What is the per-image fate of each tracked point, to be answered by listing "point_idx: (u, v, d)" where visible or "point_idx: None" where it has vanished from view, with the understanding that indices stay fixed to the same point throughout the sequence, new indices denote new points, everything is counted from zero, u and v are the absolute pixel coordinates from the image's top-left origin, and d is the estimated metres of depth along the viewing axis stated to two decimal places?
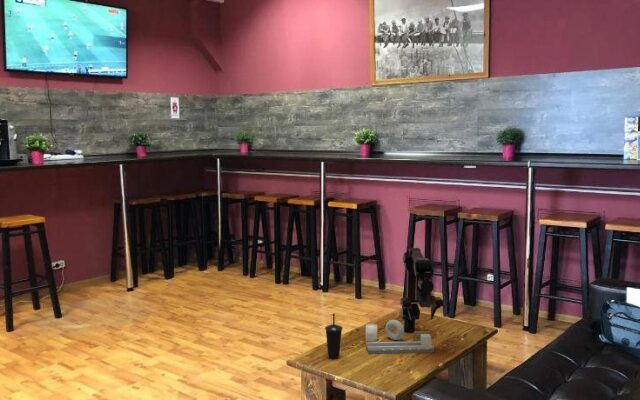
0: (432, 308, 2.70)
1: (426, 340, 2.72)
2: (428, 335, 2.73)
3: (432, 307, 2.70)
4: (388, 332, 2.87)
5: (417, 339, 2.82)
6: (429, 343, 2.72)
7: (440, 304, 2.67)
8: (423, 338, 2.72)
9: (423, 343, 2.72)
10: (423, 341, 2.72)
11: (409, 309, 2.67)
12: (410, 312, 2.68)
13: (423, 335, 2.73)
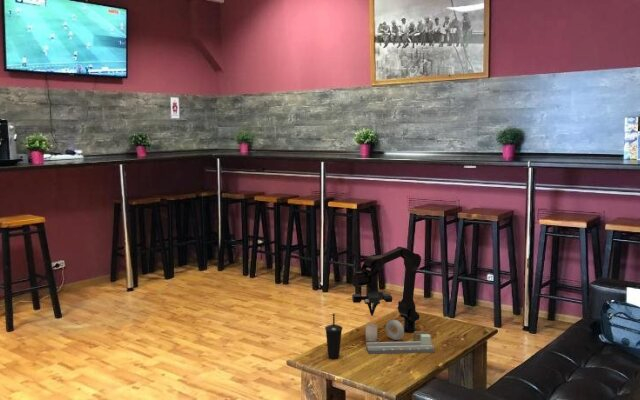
0: (373, 304, 2.85)
1: (426, 340, 2.72)
2: (428, 335, 2.73)
3: (373, 303, 2.85)
4: (388, 332, 2.87)
5: (417, 339, 2.82)
6: (429, 343, 2.72)
7: (389, 300, 2.82)
8: (423, 338, 2.72)
9: (423, 343, 2.72)
10: (423, 341, 2.72)
11: (369, 304, 2.83)
12: (370, 307, 2.84)
13: (423, 335, 2.73)
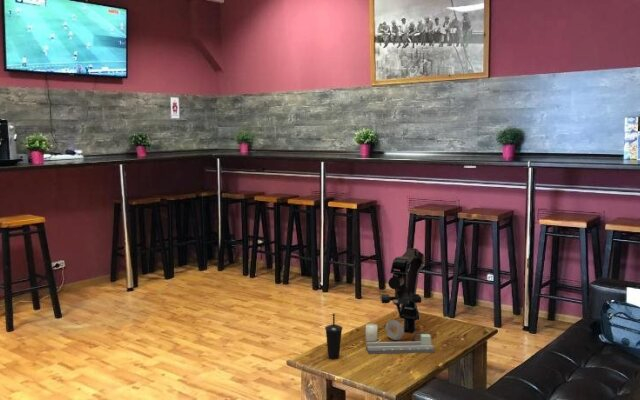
0: (401, 304, 2.84)
1: (426, 340, 2.72)
2: (428, 335, 2.73)
3: (401, 304, 2.84)
4: (388, 332, 2.87)
5: (417, 339, 2.82)
6: (429, 343, 2.72)
7: (418, 301, 2.81)
8: (423, 338, 2.72)
9: (423, 343, 2.72)
10: (423, 341, 2.72)
11: (397, 305, 2.82)
12: (398, 308, 2.83)
13: (423, 335, 2.73)
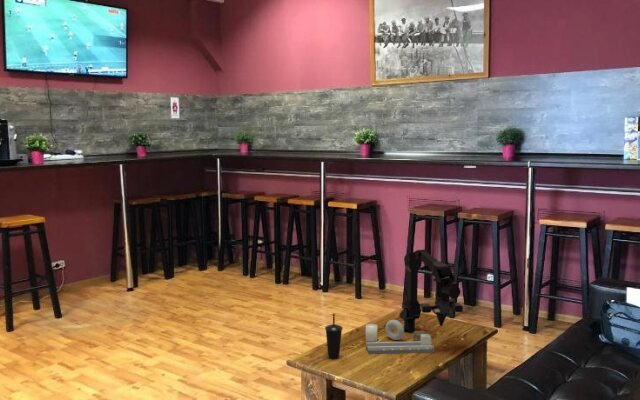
0: (442, 314, 2.73)
1: (426, 340, 2.72)
2: (428, 335, 2.73)
3: (442, 313, 2.73)
4: (388, 332, 2.87)
5: (417, 339, 2.82)
6: (429, 343, 2.72)
7: (460, 310, 2.70)
8: (423, 338, 2.72)
9: (423, 343, 2.72)
10: (423, 341, 2.72)
11: (438, 315, 2.71)
12: (439, 317, 2.72)
13: (423, 335, 2.73)
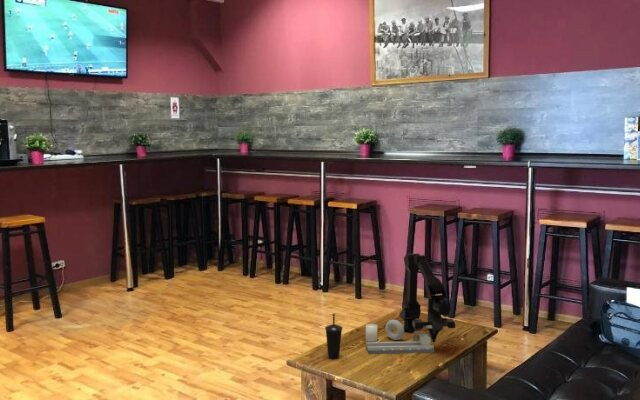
0: (434, 330, 2.74)
1: (425, 340, 2.72)
2: (427, 335, 2.73)
3: None
4: (388, 332, 2.87)
5: (417, 339, 2.82)
6: (429, 343, 2.72)
7: (452, 326, 2.71)
8: (422, 338, 2.72)
9: (422, 343, 2.72)
10: (422, 341, 2.72)
11: (431, 331, 2.71)
12: (432, 334, 2.72)
13: (422, 335, 2.73)
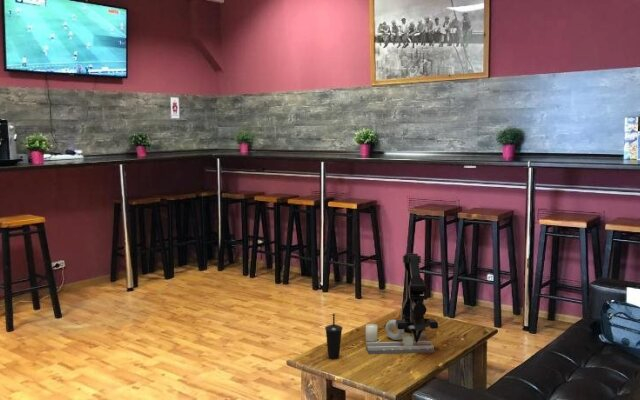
0: (417, 330, 2.73)
1: (408, 340, 2.71)
2: (410, 335, 2.73)
3: (417, 329, 2.73)
4: (388, 332, 2.87)
5: None
6: (411, 343, 2.72)
7: (435, 326, 2.70)
8: (405, 338, 2.71)
9: (405, 344, 2.72)
10: (405, 341, 2.71)
11: (414, 331, 2.71)
12: (414, 334, 2.72)
13: (405, 335, 2.73)
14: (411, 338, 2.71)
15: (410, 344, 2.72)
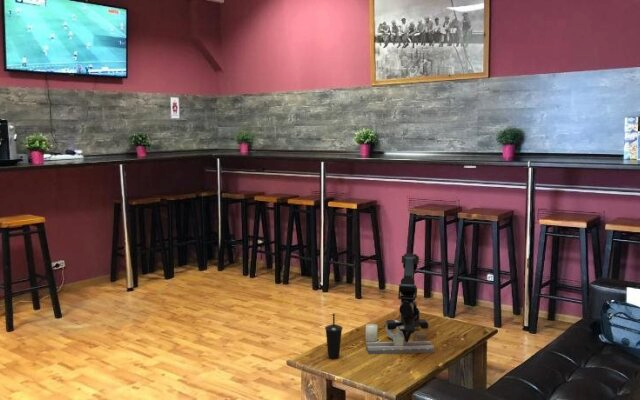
0: (407, 330, 2.73)
1: (398, 341, 2.71)
2: (400, 336, 2.73)
3: (407, 329, 2.73)
4: (388, 332, 2.87)
5: (417, 339, 2.82)
6: (401, 343, 2.71)
7: (425, 326, 2.70)
8: (395, 339, 2.71)
9: (395, 344, 2.71)
10: (395, 342, 2.71)
11: (404, 331, 2.71)
12: (405, 334, 2.72)
13: (395, 336, 2.73)
14: (401, 338, 2.71)
15: (400, 344, 2.71)
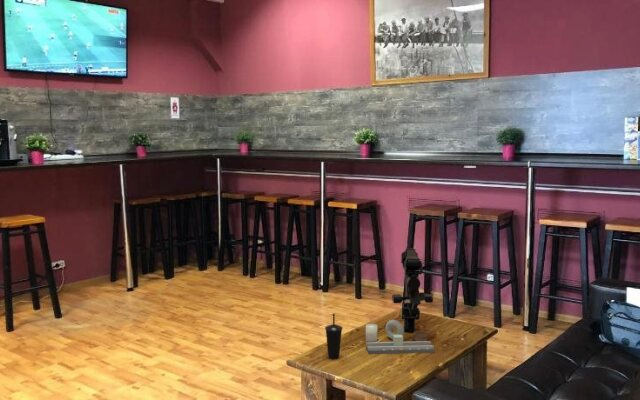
0: (413, 304, 2.84)
1: (398, 341, 2.71)
2: (400, 336, 2.73)
3: (413, 304, 2.84)
4: (388, 332, 2.87)
5: (417, 339, 2.82)
6: (401, 343, 2.71)
7: (429, 300, 2.81)
8: (395, 339, 2.71)
9: (395, 344, 2.71)
10: (395, 342, 2.71)
11: (409, 305, 2.82)
12: (410, 308, 2.83)
13: (395, 336, 2.73)
14: (401, 338, 2.71)
15: (400, 344, 2.71)
